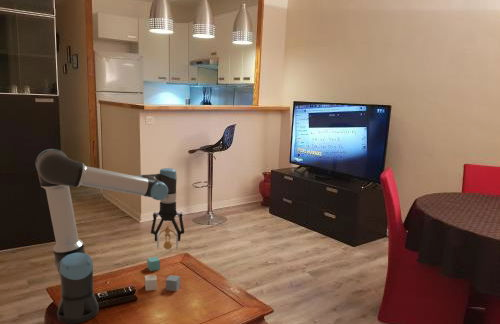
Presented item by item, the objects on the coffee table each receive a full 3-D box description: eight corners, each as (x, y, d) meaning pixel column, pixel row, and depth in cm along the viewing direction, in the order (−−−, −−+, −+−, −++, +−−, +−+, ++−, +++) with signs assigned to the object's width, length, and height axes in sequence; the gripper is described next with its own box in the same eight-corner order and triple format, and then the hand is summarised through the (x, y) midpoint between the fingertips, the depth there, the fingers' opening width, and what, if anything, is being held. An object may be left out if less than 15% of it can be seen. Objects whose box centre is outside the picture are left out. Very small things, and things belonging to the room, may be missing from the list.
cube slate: (165, 290, 180) (165, 280, 179) (169, 285, 185) (169, 275, 184) (176, 291, 179) (176, 281, 178) (179, 286, 184) (179, 276, 183)
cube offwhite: (145, 291, 179) (145, 280, 178) (145, 285, 183) (144, 275, 182) (156, 289, 180) (156, 279, 179) (156, 284, 185) (156, 274, 184)
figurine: (177, 247, 193) (177, 224, 191) (175, 252, 187) (175, 228, 185) (159, 247, 193) (160, 223, 190) (157, 252, 187) (157, 227, 185)
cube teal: (150, 271, 198) (150, 262, 197) (147, 267, 202) (147, 258, 201) (160, 269, 200) (160, 260, 200) (156, 265, 205) (156, 256, 204)
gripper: (143, 203, 181) (143, 250, 185) (190, 203, 183) (189, 250, 187) (146, 199, 188) (146, 244, 192) (190, 199, 191) (190, 244, 195)
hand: (167, 247), depth 190 cm, fingers closed on figurine, 8 cm apart
